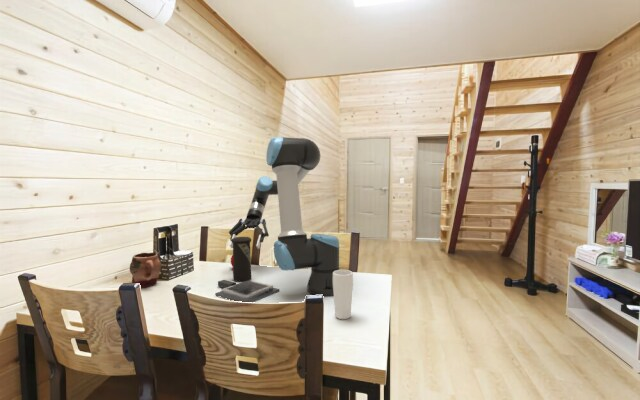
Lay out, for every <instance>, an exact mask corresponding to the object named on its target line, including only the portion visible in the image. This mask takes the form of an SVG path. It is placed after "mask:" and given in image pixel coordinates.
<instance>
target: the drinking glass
mask: <svg viewBox="0 0 640 400" xmlns="http://www.w3.org/2000/svg"><path fill="white" fill-rule="evenodd" d="M353 287H354V274H353V271H351V270H349V269H339V270H336V271H334V272H333V294H334V295H333V302H334V303H333V305H334V316H335V318H336V319H338V320H348V319H349V318H351V316H352V304H353V303H352V302H353Z"/></svg>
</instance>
